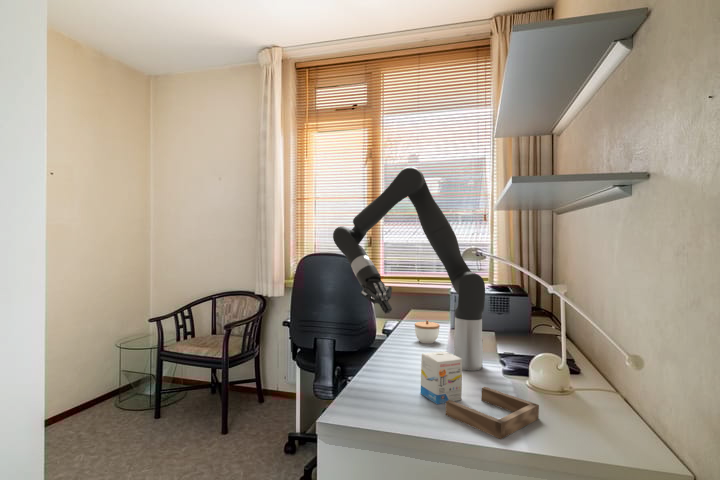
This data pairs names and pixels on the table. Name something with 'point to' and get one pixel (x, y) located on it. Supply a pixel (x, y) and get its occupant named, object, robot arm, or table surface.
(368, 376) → the table surface
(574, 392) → the table surface
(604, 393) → the table surface
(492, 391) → the walnut corral
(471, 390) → the table surface
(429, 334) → the lidded jar
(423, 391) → the ink box
